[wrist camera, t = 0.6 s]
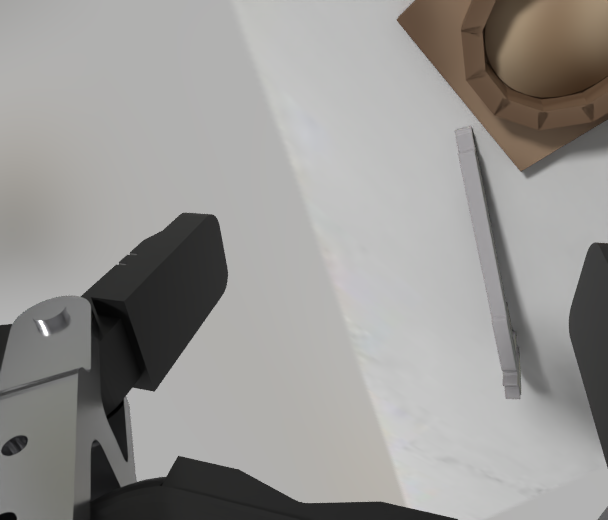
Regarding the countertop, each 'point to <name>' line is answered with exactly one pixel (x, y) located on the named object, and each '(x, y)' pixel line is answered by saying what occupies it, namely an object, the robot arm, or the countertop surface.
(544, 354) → the countertop surface
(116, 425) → the robot arm
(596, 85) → the bottle holder
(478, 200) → the caliper
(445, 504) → the countertop surface
